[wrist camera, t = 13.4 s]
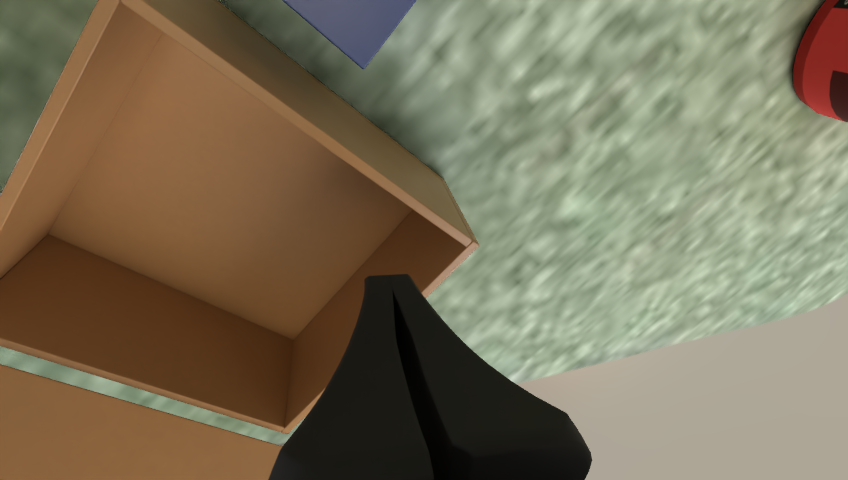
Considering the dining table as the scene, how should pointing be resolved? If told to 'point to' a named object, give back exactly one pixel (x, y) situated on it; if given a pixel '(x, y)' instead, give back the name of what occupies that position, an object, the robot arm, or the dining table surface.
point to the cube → (354, 23)
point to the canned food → (825, 62)
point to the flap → (113, 438)
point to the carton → (208, 216)
